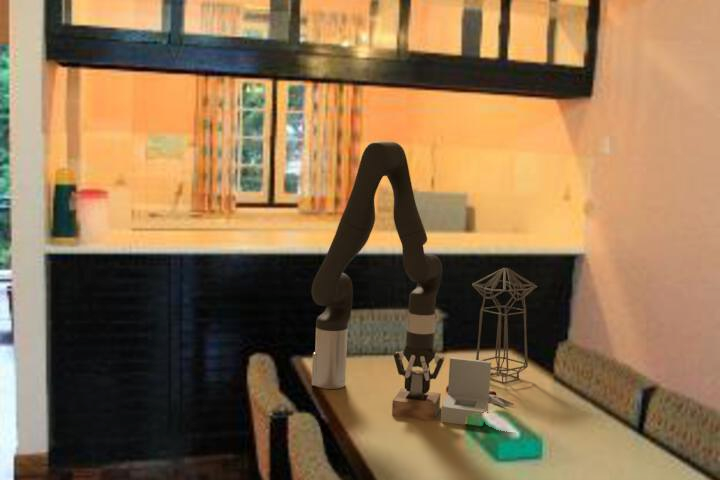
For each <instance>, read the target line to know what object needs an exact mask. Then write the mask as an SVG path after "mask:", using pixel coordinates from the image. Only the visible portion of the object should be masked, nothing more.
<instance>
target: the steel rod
mask: <svg viewBox="0 0 720 480" xmlns="http://www.w3.org/2000/svg"><path fill="white" fill-rule="evenodd" d="M424 380H425V376H424V372H423V370H416V369H415V370H412V371H411V373H410V390H409V399H413V400H421V401H424V393H423V390H424Z"/></svg>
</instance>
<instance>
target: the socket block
mask: <svg viewBox="0 0 720 480" xmlns="http://www.w3.org/2000/svg"><path fill="white" fill-rule="evenodd" d="M391 404H392V405H391V416H398V417H405V418H411V419H419V420H425V421H434V419H435V418H436V416H437V414H438V412H439V410H440V408H441V393H440V392H433V391H428V392H427V393H426V394H424V401H421V400H413V399H409V391H407V389H405V388H402V387H401V388H400V389H399V391H398V392H397V394H396V395H395V397H394V398H393V399H392V403H391Z"/></svg>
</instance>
